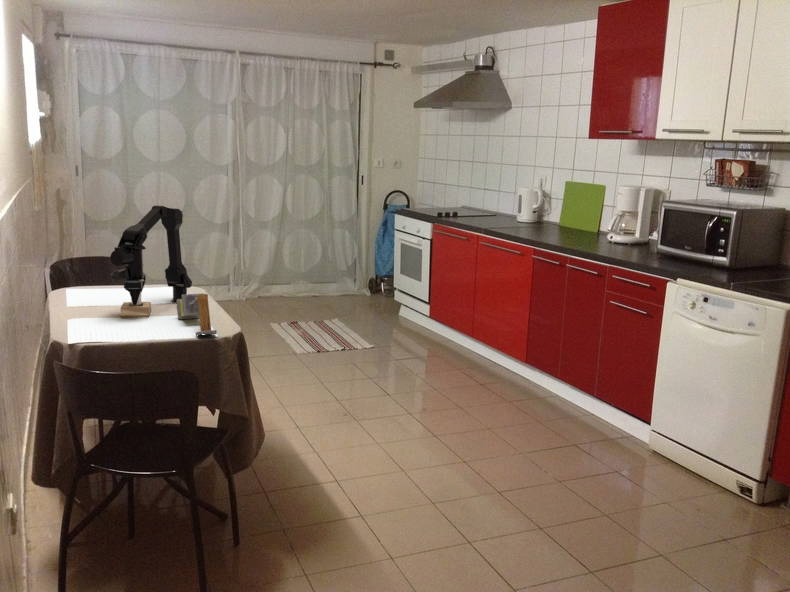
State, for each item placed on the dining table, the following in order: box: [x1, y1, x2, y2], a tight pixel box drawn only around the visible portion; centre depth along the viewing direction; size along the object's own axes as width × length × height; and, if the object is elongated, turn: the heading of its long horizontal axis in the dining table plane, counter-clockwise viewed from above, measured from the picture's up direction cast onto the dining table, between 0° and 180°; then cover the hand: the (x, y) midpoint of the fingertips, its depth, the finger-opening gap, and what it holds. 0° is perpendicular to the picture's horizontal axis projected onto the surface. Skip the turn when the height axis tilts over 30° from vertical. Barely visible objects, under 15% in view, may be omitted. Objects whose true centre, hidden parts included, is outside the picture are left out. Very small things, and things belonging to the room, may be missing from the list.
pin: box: [130, 292, 142, 306], centre depth 268 cm, size 4×4×8 cm
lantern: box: [175, 292, 218, 337], centre depth 253 cm, size 8×17×30 cm
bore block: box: [120, 301, 152, 319], centre depth 268 cm, size 10×10×4 cm
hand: (136, 302), depth 268 cm, fingers open, 9 cm apart
